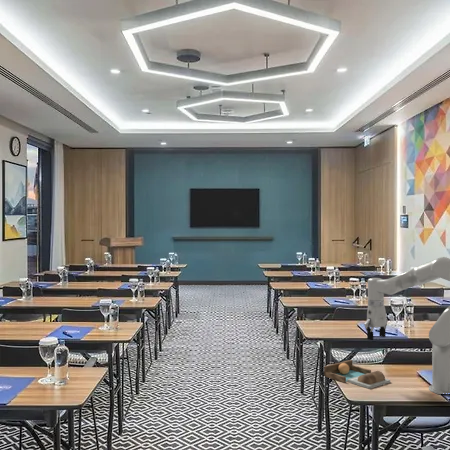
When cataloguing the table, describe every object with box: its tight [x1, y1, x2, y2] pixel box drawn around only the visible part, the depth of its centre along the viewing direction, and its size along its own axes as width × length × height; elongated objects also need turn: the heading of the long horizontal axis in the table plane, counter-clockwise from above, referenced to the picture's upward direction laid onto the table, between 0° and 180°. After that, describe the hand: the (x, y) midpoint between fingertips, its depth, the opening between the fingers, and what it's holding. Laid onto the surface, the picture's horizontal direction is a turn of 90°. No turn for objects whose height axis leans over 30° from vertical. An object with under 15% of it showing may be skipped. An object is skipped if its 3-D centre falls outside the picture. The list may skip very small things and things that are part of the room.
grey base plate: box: [347, 376, 391, 390], centre depth 244 cm, size 13×16×1 cm
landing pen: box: [323, 359, 372, 383], centre depth 255 cm, size 13×20×5 cm, turn 126°
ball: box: [338, 363, 349, 374], centre depth 257 cm, size 6×6×6 cm
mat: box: [337, 370, 364, 383], centre depth 255 cm, size 11×18×1 cm, turn 126°
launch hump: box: [357, 370, 386, 385], centre depth 243 cm, size 7×12×7 cm, turn 126°
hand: (376, 338), depth 248 cm, fingers open, 9 cm apart
